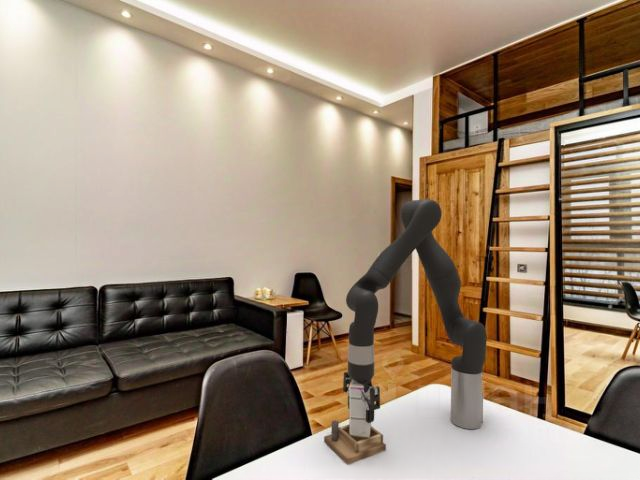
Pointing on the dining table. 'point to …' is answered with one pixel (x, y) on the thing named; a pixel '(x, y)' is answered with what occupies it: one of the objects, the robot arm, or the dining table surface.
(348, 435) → the board
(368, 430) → the syrup box
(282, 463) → the dining table surface
